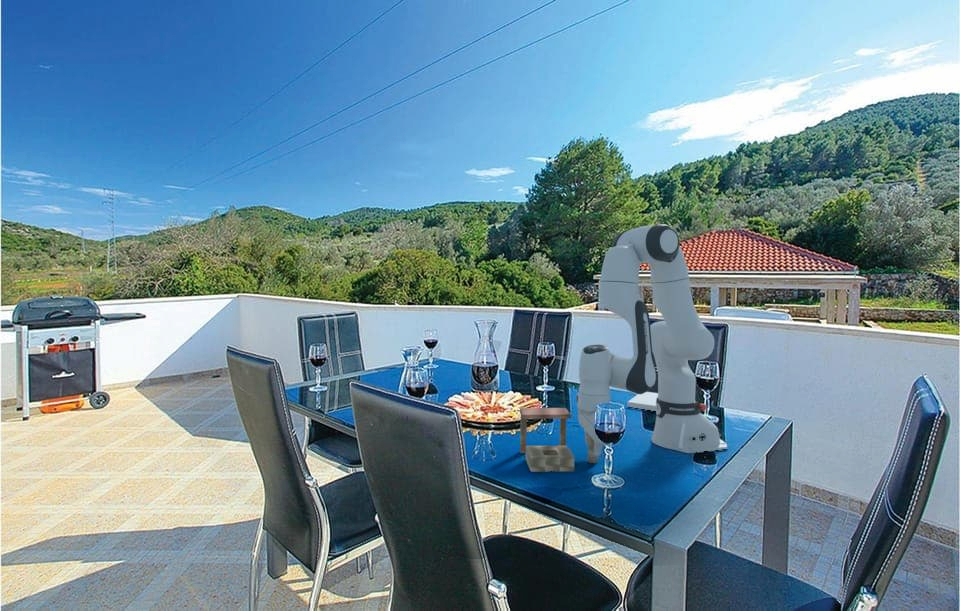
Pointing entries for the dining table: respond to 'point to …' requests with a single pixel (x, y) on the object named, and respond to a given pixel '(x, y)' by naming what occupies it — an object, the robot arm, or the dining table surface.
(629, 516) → the dining table surface
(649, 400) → the food packaging
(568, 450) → the socket block
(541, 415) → the brown wooden arch
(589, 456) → the peg
